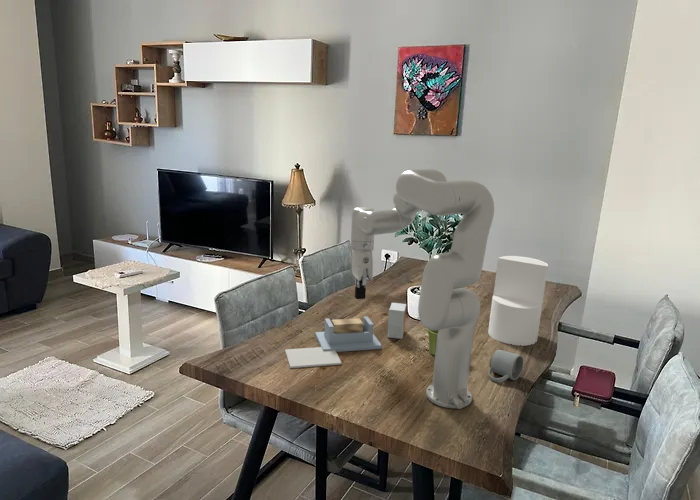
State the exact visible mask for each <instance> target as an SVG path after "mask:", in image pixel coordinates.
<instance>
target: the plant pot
mask: <svg viewBox="0 0 700 500" xmlns="http://www.w3.org/2000/svg"><path fill="white" fill-rule="evenodd" d="M425 328H426V327H425ZM426 331H427V334H428V347H429V354H431V355H433V356H435V352H436V342H437V335H438V331H439V330H436V331H434V330H429V329H427V328H426Z"/></svg>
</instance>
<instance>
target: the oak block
mask: <svg viewBox="0 0 700 500" xmlns="http://www.w3.org/2000/svg"><path fill="white" fill-rule="evenodd" d="M330 321H331V323H332V324H333V326H334V332H333V334H337V333H354V332H363V320H361V318H360V317H358V318H343V319H341V318H340V319H331V320H330Z"/></svg>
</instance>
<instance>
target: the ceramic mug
mask: <svg viewBox="0 0 700 500" xmlns="http://www.w3.org/2000/svg"><path fill="white" fill-rule="evenodd" d="M488 364H489V370H488V377H489V379H490V380H491V381H492V382H494V383H502V382H505V381H507V380H508V379H509V380H513V381H517V380H518V379H519V378H520V376H521V375H522V371H523V368H524V357H523V356H522V355H520V354H517V353H513V352H510V351H506V350H503V349H502V350H501V349H496V350H494V351H493V352H492V353H491V355H490V358H489V363H488ZM492 372H493V373H495V374H498V375H500V377H494V376H493V375H492ZM501 376H502V377H501Z"/></svg>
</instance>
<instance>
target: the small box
mask: <svg viewBox="0 0 700 500" xmlns="http://www.w3.org/2000/svg"><path fill="white" fill-rule="evenodd" d="M406 315H407V303H400V302H391V303H390V307H389V308H388V319H387V335H386V336H387V338H389V339H390V338H391V339H400V340H403V339H404V334H405V330H406V328H405V326H406Z"/></svg>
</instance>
